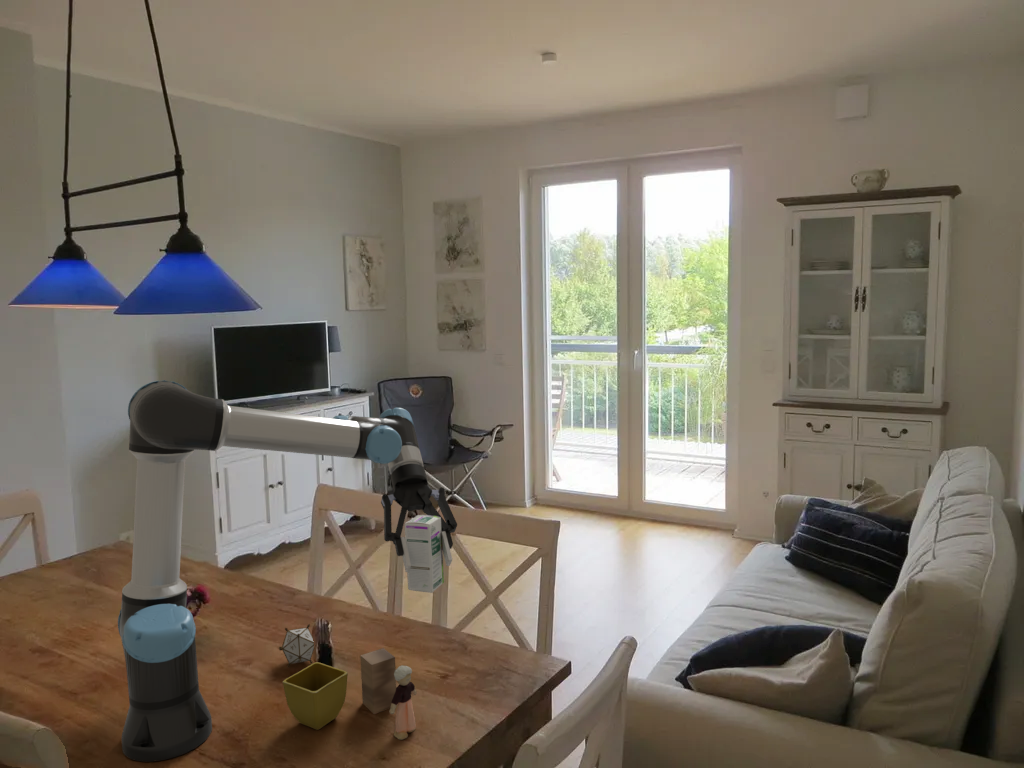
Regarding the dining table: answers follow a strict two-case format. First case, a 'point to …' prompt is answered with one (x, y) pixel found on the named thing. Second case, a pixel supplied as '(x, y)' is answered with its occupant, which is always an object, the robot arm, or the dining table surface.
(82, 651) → the dining table surface
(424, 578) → the syrup box
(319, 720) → the flower pot
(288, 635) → the game die
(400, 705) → the grandmother figurine
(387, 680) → the walnut block
